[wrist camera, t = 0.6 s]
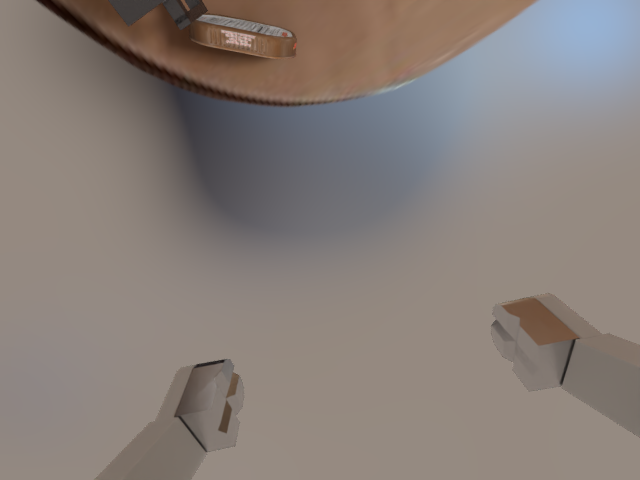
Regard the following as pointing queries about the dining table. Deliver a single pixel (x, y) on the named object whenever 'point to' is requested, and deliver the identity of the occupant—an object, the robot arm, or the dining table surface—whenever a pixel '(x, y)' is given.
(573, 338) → the robot arm
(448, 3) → the dining table surface
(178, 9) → the black french press
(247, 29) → the tin
